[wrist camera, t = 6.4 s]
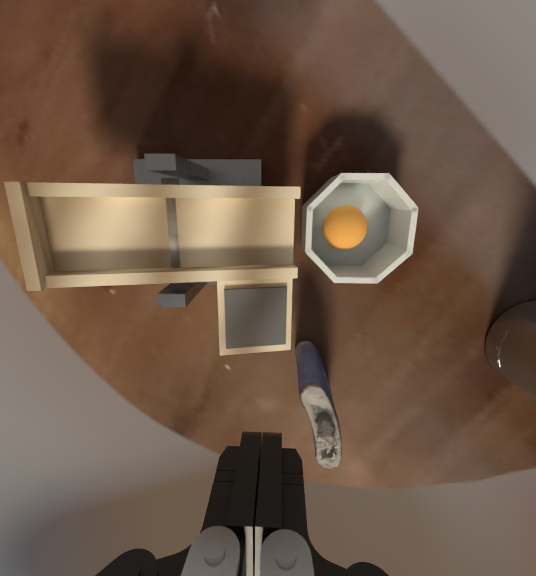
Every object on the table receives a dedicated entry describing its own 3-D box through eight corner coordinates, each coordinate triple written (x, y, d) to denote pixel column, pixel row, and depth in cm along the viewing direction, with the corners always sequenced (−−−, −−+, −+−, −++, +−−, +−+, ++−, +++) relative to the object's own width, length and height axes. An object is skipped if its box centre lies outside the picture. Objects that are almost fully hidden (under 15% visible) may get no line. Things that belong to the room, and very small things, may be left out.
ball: (377, 205, 26) (332, 205, 26) (372, 252, 27) (329, 252, 27) (358, 204, 30) (318, 204, 30) (354, 245, 31) (316, 246, 31)
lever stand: (261, 161, 30) (252, 140, 19) (261, 282, 33) (253, 318, 23) (138, 160, 30) (65, 140, 20) (150, 280, 33) (93, 315, 23)
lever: (291, 181, 24) (303, 178, 21) (287, 344, 28) (296, 361, 25) (31, 176, 21) (2, 172, 18) (66, 361, 24) (47, 383, 22)
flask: (292, 341, 35) (298, 401, 24) (317, 336, 34) (334, 394, 24) (310, 410, 37) (322, 491, 27) (334, 405, 37) (356, 485, 26)
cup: (397, 178, 30) (423, 173, 24) (387, 270, 32) (408, 284, 27) (302, 177, 30) (308, 172, 25) (299, 269, 32) (303, 282, 27)
